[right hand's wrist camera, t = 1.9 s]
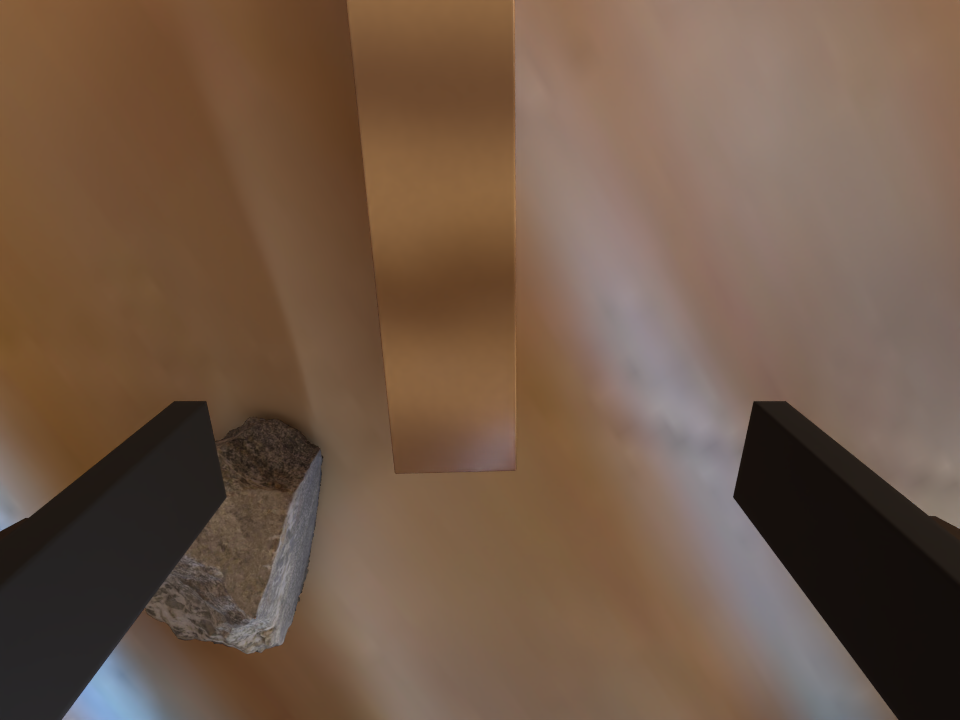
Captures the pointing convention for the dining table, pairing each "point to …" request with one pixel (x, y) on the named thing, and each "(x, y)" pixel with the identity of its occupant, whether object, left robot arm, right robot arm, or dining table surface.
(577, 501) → the dining table surface
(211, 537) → the rock
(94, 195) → the dining table surface
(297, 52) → the dining table surface
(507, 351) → the bar
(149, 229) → the dining table surface
